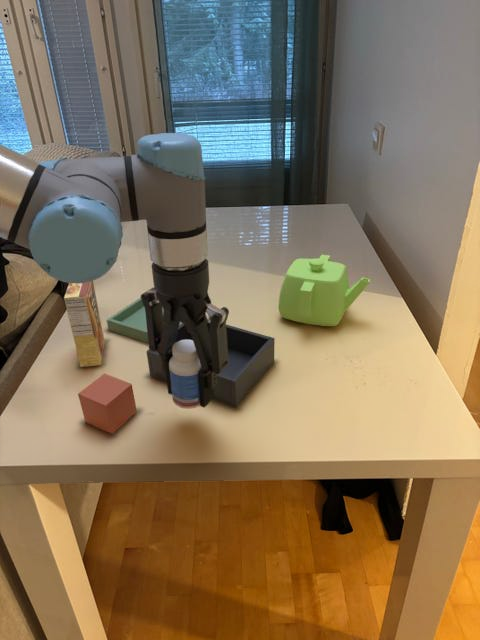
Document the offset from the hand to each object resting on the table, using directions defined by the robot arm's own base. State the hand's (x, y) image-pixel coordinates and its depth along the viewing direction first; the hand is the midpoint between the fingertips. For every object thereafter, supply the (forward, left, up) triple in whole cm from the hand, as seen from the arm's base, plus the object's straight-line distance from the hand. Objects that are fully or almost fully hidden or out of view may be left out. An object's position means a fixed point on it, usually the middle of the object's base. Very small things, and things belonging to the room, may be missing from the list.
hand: (191, 395), depth 73 cm
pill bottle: (0, 0, -1) cm, 1 cm away
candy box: (-29, +6, -6) cm, 30 cm away
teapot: (+6, +41, -6) cm, 42 cm away
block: (-13, -6, -5) cm, 15 cm away
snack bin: (-5, +13, -5) cm, 15 cm away
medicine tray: (-25, +21, -5) cm, 33 cm away
